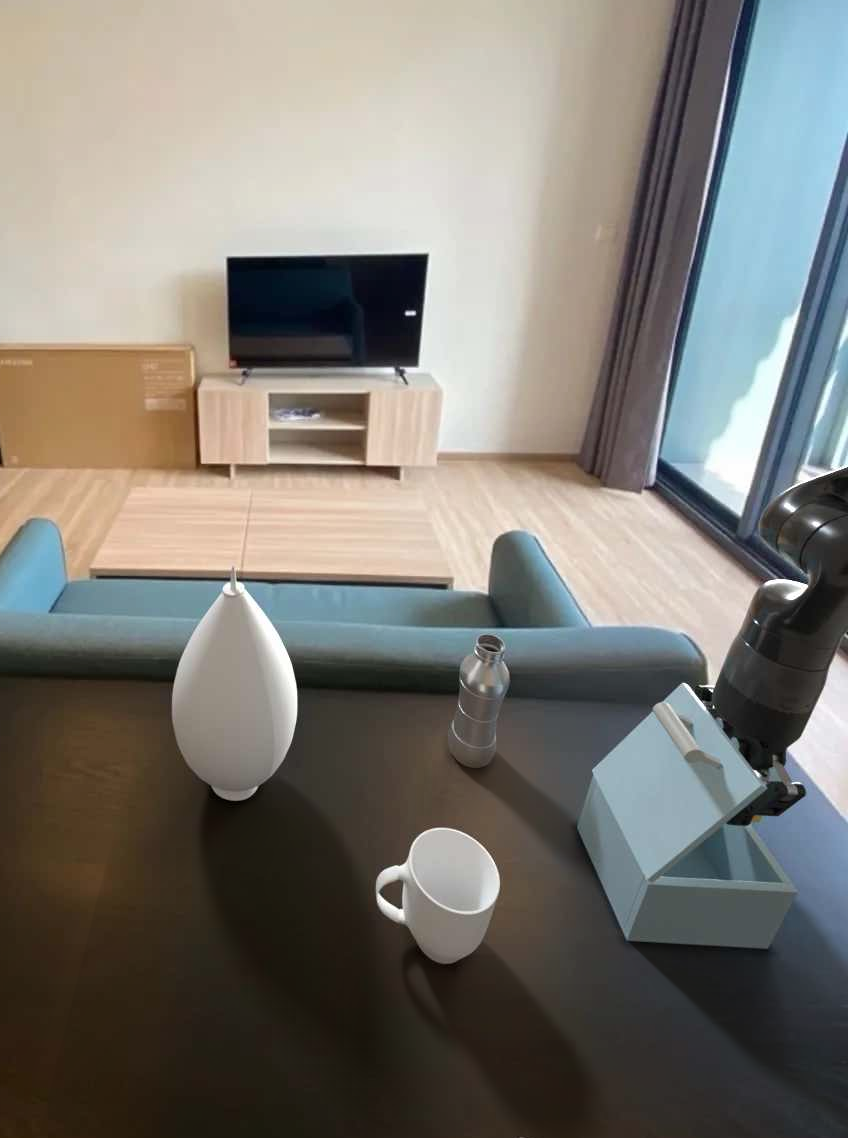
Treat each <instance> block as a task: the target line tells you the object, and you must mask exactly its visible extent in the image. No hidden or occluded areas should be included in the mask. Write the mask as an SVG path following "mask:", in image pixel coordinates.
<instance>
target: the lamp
mask: <svg viewBox="0 0 848 1138" xmlns="http://www.w3.org/2000/svg"><path fill="white" fill-rule="evenodd" d="M221 591H222V592H221V593H220V594H219V595H218V597H217V598H216V600H215V601H214V602H213V604H212V605H211V606H210V608H209V609H208V610H207V611H206V613H205V614H204V616H203V617H202V619H201V620H200V621H199V623H198V625H197V626H196V628H195V630H194V631H193V632H192V635H191V636H190V638H189V640H188V642H187V645H186V646H185V648H184V651H183V652H182V655H181V657H180V660H179V663H178V666H177V668H176V673H175V678H174V683H173V687H172V695H171V720H172V721H171V722H172V727H173V731H174V736H175V740H176V744H177V746H178V749H179V752H180V753H181V755H182V757H183V759H184V761H185V762H186V764H187V766H188V767H189V769H191V771H192V772H193V773H194V774H195V775H196V776H197V777H198V778H199V779H200V780H202V781H203V782H205V783H206V784H208V785H209V786H211V789H212V790H213V792H214V793H215V794H216V795H217V796H218V797H220V798H222V799H225V800H228V801H234V802H236V801H244V800H247V799H248V798H251V797H252V796H253V795H254V794H255V793H256V791H257V790H258V788H259V786H260V785H262V784H264V783H265V782H266V781H268V779H270V778H271V777H272V776H273V775H274V774H275V773H276V771H277V770H278V769H279V767H280V766H281V764H282V763H283V762H284V759H285V758H286V756H287V753H288V751H289V749H290V746H291V744H292V741H293V738H294V733H295V728H296V723H297V718H298V688H297V681H296V678H295V677H296V676H295V672H294V668H293V664H292V661H291V659H290V656H289V654H288V651H287V649H286V646H285V645H284V643H283V641H282V639H281V637H280V635H279V633H278V632H277V630H276V628H275V626H274V625H273V623H272V622H271V621H270V620H269V618H268V616H267V615H266V614H265V612H264V610H262V608H261V607H260V606H259V604H258V603H257V602H256V601H255V600H254V598H253V596H251V594H249V592H248V591H247V590H246V589H245V585H244V583H242V582H240V581H237V575H236V567H235V565H234V564H233V565H232V566H231V571H230V581H229V582H226V583H225V584H224V585H223V586H222V590H221Z"/></svg>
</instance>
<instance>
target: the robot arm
mask: <svg viewBox="0 0 848 1138" xmlns="http://www.w3.org/2000/svg"><path fill="white" fill-rule="evenodd" d="M758 535H759V537H760V539H761V540H762V542H763V543H764V544H765V545H766V547H768V548H769V549H770V550H771V551H772V552H774V553H775V554H777V555H778V556H779V557H781V558H782V559H783V560H785V561H786V562H788V563H789V564H791V565H792V566H793V567H795V568H796V569H798V570H799V571H800V572H802V573H803V574H805V575H806V576H807V577H808V583H807V584H805V583H801V582H799V581H793V580H789V579H773V580H772V579H771V580H768V581H766V582H763V583H762V584H761V585H760V586H759V587H758V588H757V589H756V591H755V593H754V594H753V596H752V598H751V600H750V603H749V606H748V608H747V611H746V614H745V617H744V619H743V621H742V623H741V627H740V628H739V630H738V632H737V634H736V636H735V637H734V638H733V640H732V642H731V644H730V646H729V648H728V651H727V654H726V656H725V659H724V661H723V664H722V666H721V668H720V669H721V670H720V672H719V674H718V677H717V680H716V682H715V685H696V686H695V688H694V694H695V695H696V696H697V697H698V699H699V700H700V701H701V703H702V704H703V705H704V706H705V708H706V709H707V710H708V712H709V713H710V714H711V716H712V717H713V718H714V719H715V721H716V722H717V723H718V725H719V726H720V727H721V729H722V730H723V731H724V732H725V734H726V735H727V736H728V738H729V739H730V740H731V742H732V743H733V744H734V745H735V747H736V748H737V749H738V751H739V752H740V753H741V755H742V756H743V757H744V758H745V760H746V761H747V762H748V764H749V765H750V766H751V768H752V769H753V770H755V773H756V774H757V775H758V777H759V778H760V779H761V781H762V782H763V783H764V784H765V786H766V787H767V789H766V790H765V791H764V792H763V793H762V794H760V795H759V796H758V797H757V798H756V799H754V800H753V801H752V802H751V803H749V804H748V805H747V806H746V807H745V808H743V809H742V810H741V811H740V812H738V813H737V814H736V815H735V816H734V817H732V818H731V819H730V820H729V821H728V822H726V824H728V825H735V826H748V825H751V823H752V822H751V821H752V819H753V816H754V815H760V816H762V817H780V816H781V815H782V814H784V813H785V812H786V811H788V809H790V808H792V806H794V805H795V804H797V803H799V802H800V801H801V800H802V799H803V798H805V797H806V795H807V790H806V787H805V786H804V784H803V783H801V782H799V781H798V782H797V781H792V779H791V777H790V776H789V774H788V772H787V770H786V769H785V766H786V765H787V749H788V748H789V747H791V746H792V745H793V744H794V743H796V742H797V741H799V739H800V738H801V737H802V735H803V733H804V731H805V729H806V727H807V725H808V724H809V720H810V719H811V716H812V714H813V712H814V710H815V708H816V705H817V703H818V702H819V699H820V697H821V695H822V693H823V691H824V689H825V686H826V684H827V679H828V676H829V675H828V674H829V672H830V671H829V670H830V667H831V665H832V663H833V661H834V659H835V657H836V654H837V653H838V650H839V648H840V646H841V643H842V642H843V639H844V637H845V635H846V634H847V632H848V465H845V466H842V467H840V468H838V469H835V470H832V471H829V472H826V473H823V474H821V475H818V476H816V477H813V478H810V479H807V480H805V481H802V482H800V483H798V484H795V485H793V486H791V487H789V488H788V489H786V490H784V491H782V492H781V493H779V494H778V495H777V496H775V498H773V499H772V500H770V502H769V503H768V504H767V506H766V507H765V508H764V510H763V511H762V513H761V515H760V518H759V520H758Z"/></svg>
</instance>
